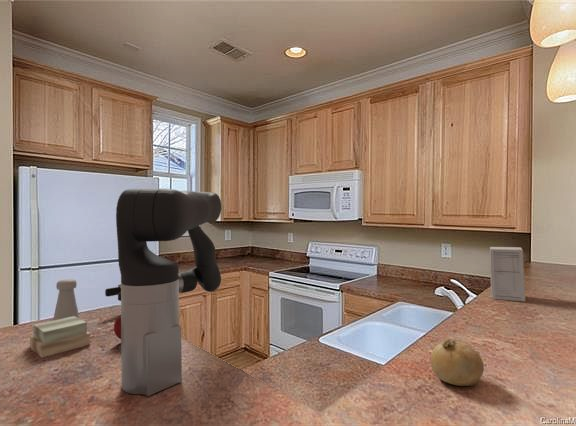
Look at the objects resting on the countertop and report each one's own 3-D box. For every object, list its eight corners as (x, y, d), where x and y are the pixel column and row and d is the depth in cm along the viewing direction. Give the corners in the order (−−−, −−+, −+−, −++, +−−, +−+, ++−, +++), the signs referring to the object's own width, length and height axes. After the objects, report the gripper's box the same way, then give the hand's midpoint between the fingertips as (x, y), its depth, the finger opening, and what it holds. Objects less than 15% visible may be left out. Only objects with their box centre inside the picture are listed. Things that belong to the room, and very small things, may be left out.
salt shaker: (57, 336, 79) (57, 282, 80) (49, 331, 83) (48, 280, 83) (83, 329, 84) (83, 279, 84) (74, 325, 88) (74, 277, 88)
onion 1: (130, 347, 71) (130, 311, 72) (107, 346, 73) (107, 310, 73) (147, 338, 77) (147, 304, 77) (125, 336, 78) (125, 303, 78)
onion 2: (438, 366, 60) (437, 327, 61) (488, 378, 55) (486, 336, 56) (425, 383, 54) (423, 340, 54) (479, 399, 49) (478, 351, 49)
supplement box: (523, 296, 112) (522, 247, 112) (526, 302, 104) (524, 249, 104) (490, 293, 117) (489, 246, 117) (490, 298, 109) (489, 248, 109)
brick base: (90, 344, 74) (90, 322, 74) (41, 357, 67) (41, 333, 67) (75, 335, 80) (75, 315, 80) (29, 347, 73) (30, 324, 73)
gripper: (153, 271, 109) (101, 279, 97) (177, 275, 100) (123, 284, 88) (153, 294, 109) (101, 304, 97) (177, 300, 100) (123, 312, 88)
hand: (111, 294), depth 92 cm, fingers open, 8 cm apart
